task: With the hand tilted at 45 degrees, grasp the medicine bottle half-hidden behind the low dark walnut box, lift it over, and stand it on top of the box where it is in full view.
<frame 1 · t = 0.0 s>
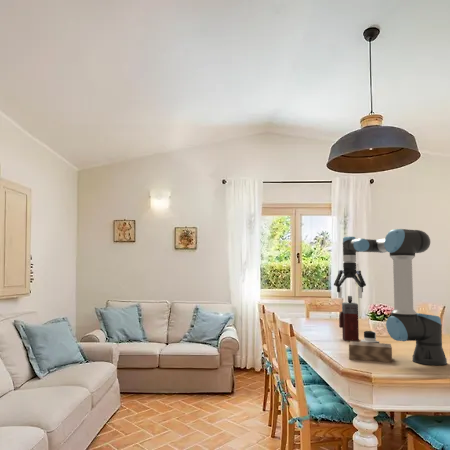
hand: (350, 298, 257), 28 cm above the table, tool pointing down, fingers open, 13 cm apart
dark red tall piece: (348, 339, 279), on the table
walnut box: (370, 358, 217), on the table
medicine bottle: (370, 354, 229), on the table
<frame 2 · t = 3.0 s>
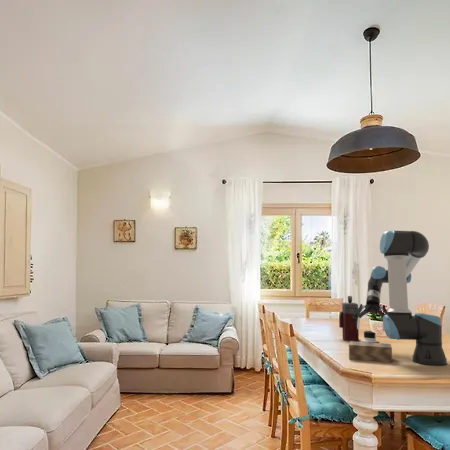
hand: (370, 328, 238), 12 cm above the table, tool tilted 45°, fingers open, 13 cm apart
nothing on the table moved.
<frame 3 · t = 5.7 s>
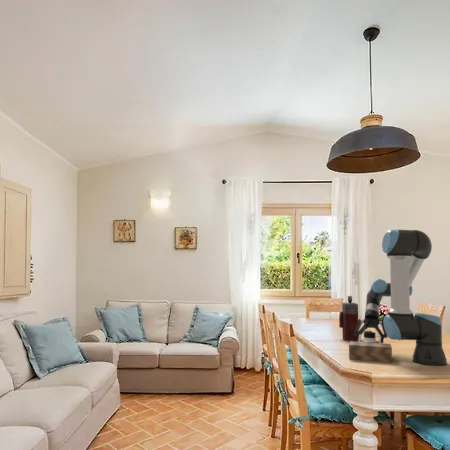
hand: (369, 346, 227), 4 cm above the table, tool tilted 45°, fingers closed on medicine bottle, 10 cm apart
medicine bottle: (370, 354, 229), on the table, touching gripper
everything else where it was.
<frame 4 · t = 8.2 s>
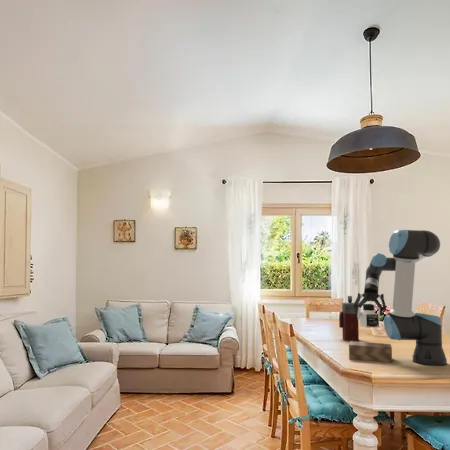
hand: (368, 318, 227), 19 cm above the table, tool tilted 45°, fingers closed on medicine bottle, 10 cm apart
medicine bottle: (369, 327, 230), point 14 cm above the table, touching gripper
everything else where it was.
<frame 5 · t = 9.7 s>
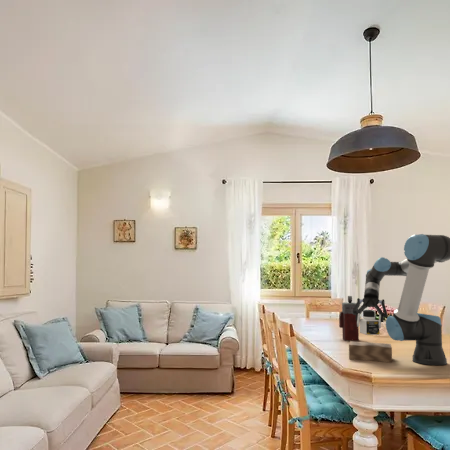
hand: (368, 325, 217), 17 cm above the table, tool tilted 45°, fingers closed on medicine bottle, 10 cm apart
medicine bottle: (369, 334, 219), point 12 cm above the table, touching gripper
everything else where it was.
when the fingers open (13 cm above the table, at t = 11.0 s): medicine bottle drops 1 cm, resting on walnut box.
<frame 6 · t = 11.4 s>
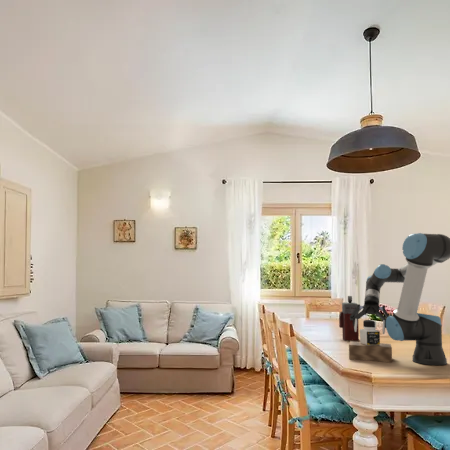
hand: (369, 331, 217), 14 cm above the table, tool tilted 45°, fingers open, 13 cm apart
medicine bottle: (369, 344, 218), point 7 cm above the table, touching walnut box
everything else where it was.
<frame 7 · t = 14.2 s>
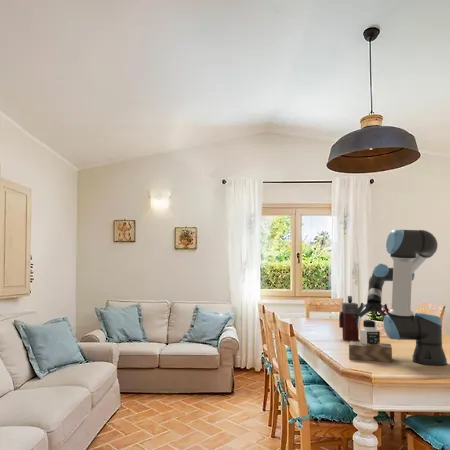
hand: (372, 328, 228), 14 cm above the table, tool tilted 45°, fingers open, 13 cm apart
nothing on the table moved.
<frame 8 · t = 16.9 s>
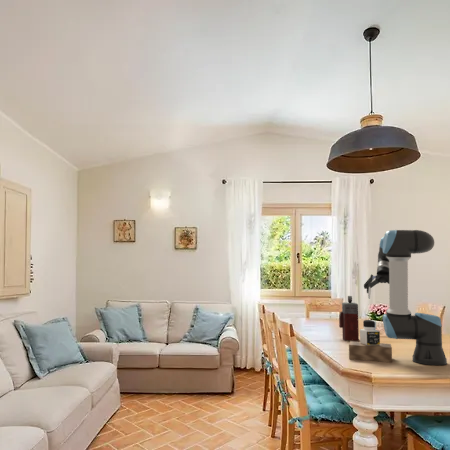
hand: (382, 297, 237), 30 cm above the table, tool tilted 45°, fingers open, 13 cm apart
nothing on the table moved.
at the end: medicine bottle inside the target area on the walnut box (0.1 cm from its centre), point 6.8 cm above the walnut box's base; medicine bottle tilted 0°; the gripper is holding nothing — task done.
